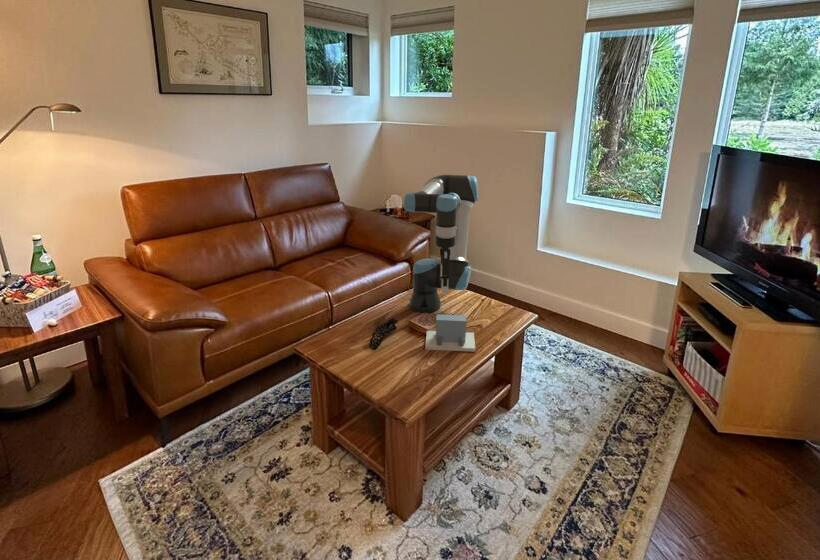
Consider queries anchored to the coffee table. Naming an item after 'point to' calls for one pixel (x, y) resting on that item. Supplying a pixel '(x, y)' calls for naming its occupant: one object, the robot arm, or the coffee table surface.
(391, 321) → the decorative element
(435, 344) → the pegboard
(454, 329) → the slate block
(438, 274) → the robot arm
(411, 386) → the coffee table surface
